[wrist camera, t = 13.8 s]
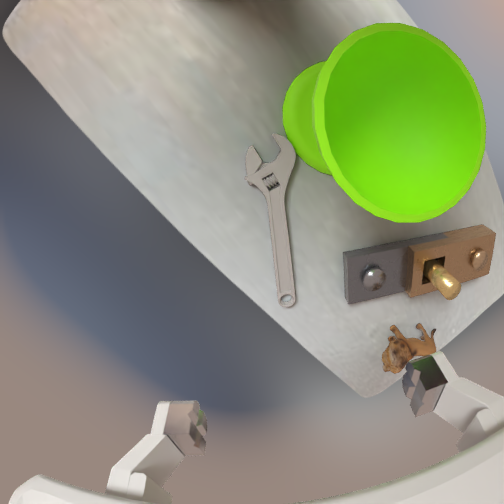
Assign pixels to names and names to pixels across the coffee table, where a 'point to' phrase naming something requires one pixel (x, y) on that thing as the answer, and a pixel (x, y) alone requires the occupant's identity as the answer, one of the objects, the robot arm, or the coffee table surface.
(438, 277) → the brass pin
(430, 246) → the door latch
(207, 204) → the coffee table surface
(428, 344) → the lion figurine
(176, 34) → the coffee table surface
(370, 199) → the wineglass
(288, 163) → the adjustable wrench
